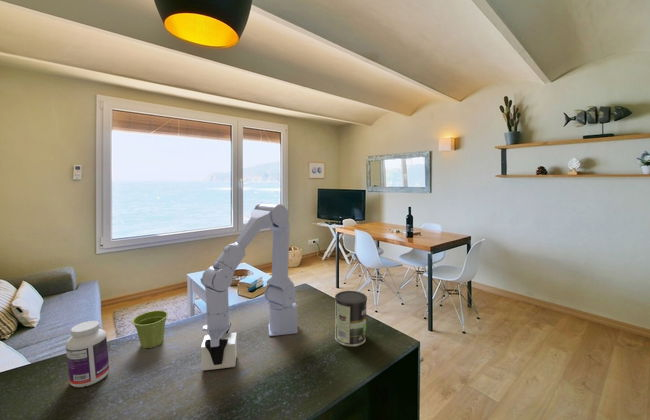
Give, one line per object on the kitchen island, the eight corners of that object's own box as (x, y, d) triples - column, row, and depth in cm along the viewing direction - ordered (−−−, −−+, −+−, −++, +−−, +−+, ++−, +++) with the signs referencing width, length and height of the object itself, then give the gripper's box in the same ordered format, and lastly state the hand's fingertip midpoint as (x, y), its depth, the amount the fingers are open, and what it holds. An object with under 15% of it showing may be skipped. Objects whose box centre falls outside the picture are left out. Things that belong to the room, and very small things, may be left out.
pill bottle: (104, 364, 81) (100, 315, 79) (113, 376, 76) (109, 324, 74) (66, 379, 74) (61, 326, 73) (73, 394, 69) (67, 338, 68)
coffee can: (366, 331, 99) (367, 291, 97) (365, 348, 89) (366, 304, 87) (337, 328, 101) (337, 289, 99) (332, 344, 91) (332, 301, 89)
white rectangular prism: (236, 353, 85) (236, 332, 84) (235, 366, 79) (234, 344, 78) (205, 356, 83) (205, 335, 82) (201, 370, 77) (200, 347, 76)
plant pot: (142, 356, 84) (140, 328, 83) (129, 345, 90) (127, 318, 89) (174, 342, 92) (173, 316, 91) (161, 332, 97) (159, 307, 96)
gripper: (206, 300, 85) (208, 343, 87) (196, 324, 71) (199, 375, 73) (231, 298, 87) (233, 340, 89) (226, 321, 73) (228, 371, 74)
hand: (219, 356), depth 81 cm, fingers closed on white rectangular prism, 6 cm apart
